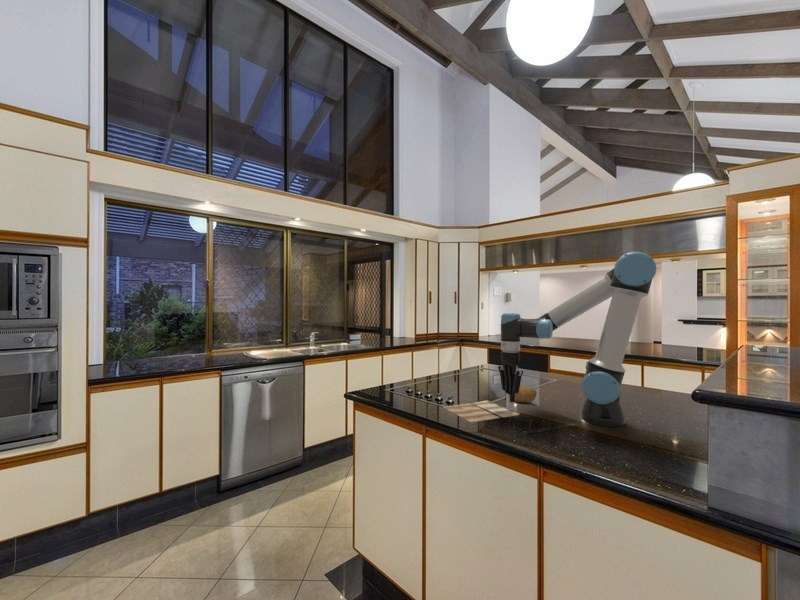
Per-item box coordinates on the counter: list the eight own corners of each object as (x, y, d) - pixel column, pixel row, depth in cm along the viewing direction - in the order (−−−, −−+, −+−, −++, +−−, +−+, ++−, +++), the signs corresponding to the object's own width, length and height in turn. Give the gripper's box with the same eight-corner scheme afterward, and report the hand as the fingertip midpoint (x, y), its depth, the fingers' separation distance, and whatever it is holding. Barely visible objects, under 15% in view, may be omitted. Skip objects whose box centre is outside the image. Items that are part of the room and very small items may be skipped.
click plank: (519, 416, 148) (519, 413, 148) (503, 420, 145) (503, 416, 145) (486, 403, 168) (486, 399, 168) (471, 405, 165) (471, 402, 165)
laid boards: (501, 420, 144) (501, 417, 144) (470, 425, 139) (470, 422, 139) (469, 406, 165) (469, 403, 165) (442, 409, 160) (442, 406, 160)
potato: (510, 398, 178) (510, 381, 178) (539, 403, 169) (539, 386, 169) (501, 402, 170) (501, 385, 170) (532, 408, 161) (532, 390, 161)
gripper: (492, 349, 155) (492, 406, 155) (513, 353, 143) (513, 415, 143) (507, 348, 157) (507, 404, 158) (528, 352, 145) (528, 412, 145)
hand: (510, 409), depth 150 cm, fingers closed
